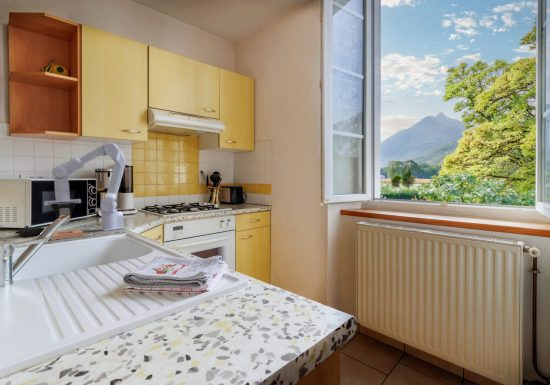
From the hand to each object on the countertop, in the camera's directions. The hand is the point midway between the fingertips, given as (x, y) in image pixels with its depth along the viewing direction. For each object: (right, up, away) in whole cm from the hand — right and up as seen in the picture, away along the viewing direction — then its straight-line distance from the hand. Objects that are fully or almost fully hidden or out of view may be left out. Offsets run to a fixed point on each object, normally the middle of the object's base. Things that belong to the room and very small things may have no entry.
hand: (64, 218), depth 145 cm
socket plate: (+7, -7, -10) cm, 14 cm away
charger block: (0, -2, 0) cm, 2 cm away
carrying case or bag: (-9, -6, -7) cm, 13 cm away
